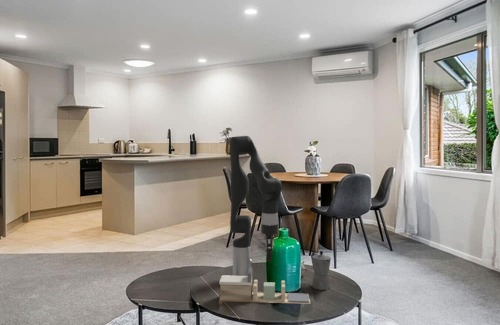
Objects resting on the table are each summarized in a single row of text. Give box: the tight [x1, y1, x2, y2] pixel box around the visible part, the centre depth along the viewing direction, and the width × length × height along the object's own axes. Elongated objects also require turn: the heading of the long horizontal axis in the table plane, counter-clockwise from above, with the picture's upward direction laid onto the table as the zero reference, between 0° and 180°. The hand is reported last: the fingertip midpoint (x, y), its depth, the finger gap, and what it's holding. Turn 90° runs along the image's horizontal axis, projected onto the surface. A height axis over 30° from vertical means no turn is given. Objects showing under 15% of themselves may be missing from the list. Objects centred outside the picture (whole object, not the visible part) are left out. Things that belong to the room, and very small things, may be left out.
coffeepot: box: [310, 250, 332, 291], centre depth 197 cm, size 15×9×18 cm, turn 23°
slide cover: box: [218, 266, 253, 285], centre depth 179 cm, size 9×14×5 cm, turn 86°
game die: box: [300, 261, 308, 278], centre depth 213 cm, size 9×8×10 cm
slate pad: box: [287, 292, 310, 302], centre depth 178 cm, size 9×9×1 cm
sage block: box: [263, 281, 276, 300], centre depth 178 cm, size 5×5×6 cm
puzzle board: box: [218, 279, 311, 305], centre depth 179 cm, size 12×40×8 cm, turn 86°
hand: (269, 258), depth 178 cm, fingers open, 8 cm apart
